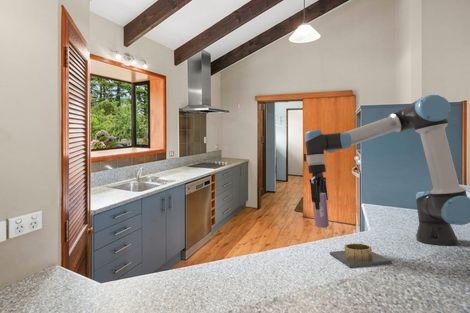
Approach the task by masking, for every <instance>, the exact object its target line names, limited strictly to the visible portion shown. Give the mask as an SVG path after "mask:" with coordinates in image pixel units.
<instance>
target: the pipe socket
mask: <svg viewBox="0 0 470 313" xmlns="http://www.w3.org/2000/svg"><path fill="white" fill-rule="evenodd" d="M343 249H344V250H338V251H329V256H331V257H333V258H334V259H336V260H337V261H338V262H340V263H342V264H343V265H345V266H347V267H348V268H350V269H351V268H353V269H354V268H362V267H363V268H364V267H375V266H382V265H383V266H385V265H392V264H393V262H392V261H393V260H391V259H389V258H387V257H385V256H382V255H380V254H378V253H376V252H375V251H373V249H372V246H370V245H367V244H365V243H347V244H344V246H343Z"/></svg>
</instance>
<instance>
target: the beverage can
mask: <svg viewBox="0 0 470 313" xmlns="http://www.w3.org/2000/svg"><path fill="white" fill-rule="evenodd" d="M320 202H321V210H322V217H321V216H320V209H319V210H316V212H315V202H312V208H313V218H314V219H313V220H314V221H313V222H314V226H315V228H317V229H327V228H329V225H330V223H329V222H330V221H329V214H328V213H329V211H328V200H327V199H326V193H320Z"/></svg>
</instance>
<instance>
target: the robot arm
mask: <svg viewBox="0 0 470 313" xmlns="http://www.w3.org/2000/svg"><path fill="white" fill-rule="evenodd" d="M451 110H452V107H451V104H450V102H449V100H448V99H447V98H445V97H444V96H441V95H439V94H429V95H425V96H424V97H420V98H419V99H417V100H415V101H414V102H412V103H410V104H408V105H407V106H405V107H403V108H402V109H399V110H398V111H395V112H393V113H390V114H389V116H388V117H385V118H381V119H379V120H376V121H373V122H370V123H367V124H365V125H362V126H358V127H356V128H353V129H350V130H348V131H344V132H341V131H340V132H333V133H323V132H322V130H320V129H315V130H314V129H313V130H309V131H307V132H305V134H304V136H305V147H306V148H305V150H306V160H307V164H308V166H307V167H308V174H311V178H309V185H310V194H311V195H310V196H311V202H312V203H313V202H315V212H316V210H319V209H320V216H321V217H322V210H321V202H320V193H326V199H327V201H328V200H329V196H328V195H329V194H328V189H327V188H328V187H327V177H326V176H324V174H323V173H326V172H327V169H326V168H327V167H326V164H325V163H326V160H325V152H326V153H329V154H330V153H332V154H333V153H334V152H337V151H340V150H346V149H347V150H348V149H350V148H351V147H352V146H355V145H357V144H361V143H364V142H367V141H370V140H373V139H375V138H378V137H381V136H384V135H385V136H386V135H388V134H390V133H394V132H395V133H400V132H404V131H408V130H413V129H414V132H415V133H418V134H419V135H420V140H421V144H422V147H423V151H424V156H425V159H426V164H427V167H428V172H429V175H430V176H429V177H430V179H431V183H432V187H433V188H432V189H431V190H427V191H426V190H425V191H418V192H416V194H415V201H416V208H417V215H418V216H417V218H418V226H417V233H416V235H415V239H416V241H417V242H420V243H424V244H428V245H436V246H454V245H455V246H456V245H457V244H459V240H458V237H457V235H456V233H455V231H454V229H453V227H452V225H456V226H464V225H469V223H470V197H468V194H467V190H466V188H464V187H462V186H460V182H459V180H458V175H457V171H456V167H455V164H454V160H453V155H452V153H451V152H452V151H451V148H450V144H449V141H448V137H447V133H446V128H447V126H448V125H449V122H448V117H449V116H450V113H451Z"/></svg>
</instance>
